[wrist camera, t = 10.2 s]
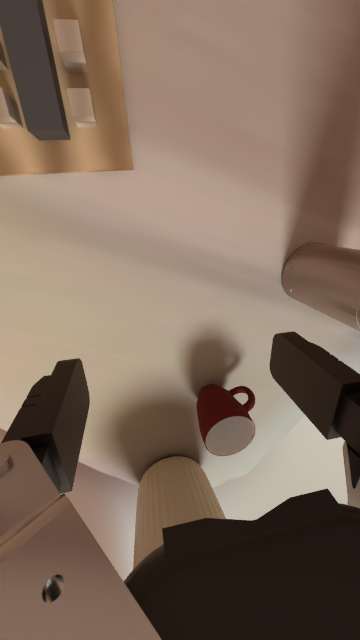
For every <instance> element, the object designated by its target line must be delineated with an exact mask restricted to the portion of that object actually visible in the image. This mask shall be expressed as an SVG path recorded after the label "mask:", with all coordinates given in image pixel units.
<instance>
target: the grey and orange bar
mask: <svg viewBox="0 0 360 640" xmlns="http://www.w3.org/2000/svg"><path fill="white" fill-rule="evenodd" d="M0 27H1V31H2V35H3V39H4V42H5V46H6V50H7V54H8V58H9V62H10V66H11V69H12V73H13V77H14V81H15V85H16V89H17V93H18V96H19V100H20V104H21V108H22V112H23V116H24V120H25V124H26V127H27V130H28V131H29V132H30V133H31V134H32V135H33V136H34V137H36V138H37V139H38V140H39V141H43V140H71V139H70V134H69V129H68V124H67V119H66V115H65V110H64V105H63V100H62V95H61V90H60V85H59V80H58V75H57V70H56V65H55V61H54V56H53V51H52V46H51V41H50V36H49V31H48V26H47V21H46V16H45V11H44V7H43V2H42V0H0Z"/></svg>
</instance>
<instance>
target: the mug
mask: <svg viewBox="0 0 360 640" xmlns="http://www.w3.org/2000/svg"><path fill="white" fill-rule="evenodd" d="M238 393H246V394H247V395H248V401H247V402H246V403H245V404H243V405H242V404H240V403H239V402H238V401H237V400H236V399H235V398H234V397H233V395H235V394H238ZM254 404H255V396H254V394H253V392H252V391H251V390H250V389H249V388H247V387H245V386H239V387H235V388H233V389H231V390H230V391H228V390H226V389H224V388H221V387H219V386H216V385H208V386H205V387H204V388H203V389H202V390H201V391H200V394H199V397H198V400H197V413H198V421H199V427H200V432H201V435H202V438H203V441H204V443H205V446H206V448H207V450H208V451H209V452H210V453H212V454H214V455H218V456H228V455H232V454H235V453H237V452H239V451H241V450H243V449H244V448H245V447H246V446H247V445H248V444H249V443H250V442H251V441H252V439H253V437H254V435H255V425H254V423H253V421H252V419H251V418H250V416H249V414H248V411H250V410H251V409H252V408H253V407H254Z"/></svg>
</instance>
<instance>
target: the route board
mask: <svg viewBox="0 0 360 640" xmlns="http://www.w3.org/2000/svg"><path fill="white" fill-rule="evenodd" d="M42 2H43V7H44V11H45V16H46V21H47V26H48V31H49V36H50V41H51V46H52V51H53V56H54V61H55V65H56V70H57V75H58V80H59V85H60V90H61V95H62V100H63V105H64V110H65V115H66V119H67V124H68V129H69V134H70V139H71V140H43V141H39V140H38V139H37V138H36V137H34V136H33V135H32V134H31V133H30V132H29V131H28V130H27V127H26V124H25V120H24V116H23V112H22V108H21V104H20V100H19V96H18V93H17V89H16V85H15V81H14V77H13V73H12V69H11V66H10V62H9V58H8V54H7V50H6V46H5V42H4V39H3V35H2V31H1V27H0V176H4V175H26V174H49V173H72V172H94V171H117V170H133V163H132V155H131V147H130V139H129V131H128V123H127V114H126V106H125V98H124V90H123V82H122V74H121V66H120V58H119V50H118V42H117V34H116V25H115V17H114V9H113V1H112V0H42Z"/></svg>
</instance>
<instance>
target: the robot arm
mask: <svg viewBox="0 0 360 640" xmlns="http://www.w3.org/2000/svg"><path fill="white" fill-rule="evenodd" d="M282 284H283V288H284V290H285V292H286V293H287V294H288V295H289V296H290V297H292V298H293V299H295V300H297V301H299V302H301V303H304V304H306V305H307V306H309V307H311V308H313V309H316V310H318V311H320V312H322V313H324V314H326V315H328V316H330V317H332V318H334V319H336V320H338V321H340V322H342V323H344V324H346V325H348V326H350V327H352V328H354V329H357V330H359V331H360V250H357V249H350V248H343V247H337V246H330V245H323V244H316V243H314V244H308V245H305V246H303V247H301V248H299V249H298V250H296V251H295V252H294V253H293V254H292V255H291V257H290V258H289V259H288V261H287V263H286V264H285V267H284V270H283V274H282ZM270 371H271V374H272V376H273V378H274V379H275V381H276V382H277V383H278V384H279V385H280V386H281V387H282V389H283V390H284V391H285V392H286V393H287V394H288V396H289V397H290V398H291V399H292V400H293V401H294V402H295V404H296V405H297V406H298V407H299V408H300V409H301V410H302V412H303V413H304V414H305V415H306V416H307V417H308V418H309V420H310V421H311V422H312V423H313V424H314V425H315V426H316V428H317V429H318V430H319V431H320V432H321V433H322V435H323V436H324V437H325V438H326V439H327V440H328V439H333V438H338V437H342V438H343V439H344V440H345V442H344V445H343V456H344V465H345V474H346V483H347V493H348V505H345V504H339V503H338V502H337V501H336V500H335V498H334V497H333V496H332V494H331V493H330V491H329V490H328V489H325V490H320V491H316V492H312V493H308V494H304V495H299V496H295V497H291V498H289V499H287V500H286V501H284V502H283V503H281V504H280V505H278V506H277V507H275V508H274V509H272V510H271V511H269V512H268V513H266V514H265V515H263V516H262V517H260V518H259V519H257V520H253V521H246V520H232V519H216V518H204V519H199V520H195V521H191V522H187V523H183V524H179V525H174V526H170V527H166V528H162V534H163V543H164V544H163V545H161V546H160V547H158V548H157V549H155V550H154V551H152V552H151V553H150V554H149V555H147V556H146V557H145V558H144V559H143V560H142V561H141V562H140V563H139V564H138V565H137V566H136V567H135V568H134V569H133V571H132V572H131V573H130V574H129V576H128V577H127V578H126V580H125V581H124V582H123V580H122V579H121V577H120V576H119V574H118V573H117V571H116V570H115V569H114V567H113V565H112V564H111V562H110V561H109V559H108V558H107V556H106V555H105V553H104V552H103V550H102V549H101V547H100V546H99V544H98V543H97V541H96V540H95V538H94V537H93V535H92V533H91V532H90V530H89V529H88V527H87V526H86V524H85V523H84V521H83V520H82V518H81V517H80V515H79V514H78V512H77V511H76V509H75V508H74V506H73V505H72V503H71V502H70V500H69V499H68V498H67V496H66V495H65V494H62V495H61V494H60V493H65V492H70V491H72V487H73V482H74V477H75V472H76V467H77V463H78V458H79V453H80V448H81V444H82V439H83V434H84V429H85V424H86V419H87V415H88V410H89V391H88V386H87V382H86V378H85V373H84V369H83V365H82V361H81V360H80V359H79V358H78V359H70V360H62V361H58V362H57V364H56V366H55V368H54V370H53V372H52V375H49V376H44V377H42V378H41V379H40V380H39V381H38V382H37V383H36V384H35V385H33V387H32V388H31V390H30V392H29V394H28V396H27V399H25V401H24V403H23V405H22V408H20V410H19V412H18V414H17V415H16V417H15V419H14V421H13V422H12V424H11V426H10V428H9V430H8V431H7V433H6V435H5V437H4V439H3V441H2V442H1V444H0V640H360V374H359V373H357V372H356V371H354V370H353V369H351V368H350V367H349V366H347V365H346V364H344V363H343V362H341V361H338V359H337V358H336V357H334V356H333V355H330V353H329V352H327V351H326V350H324V349H323V348H321V347H320V346H318V345H315V344H313V343H310V342H308V341H307V340H305V339H304V338H303V337H301V336H300V335H298V334H297V333H296V332H286V333H278V334H275V336H274V338H273V344H272V351H271V359H270Z"/></svg>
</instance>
